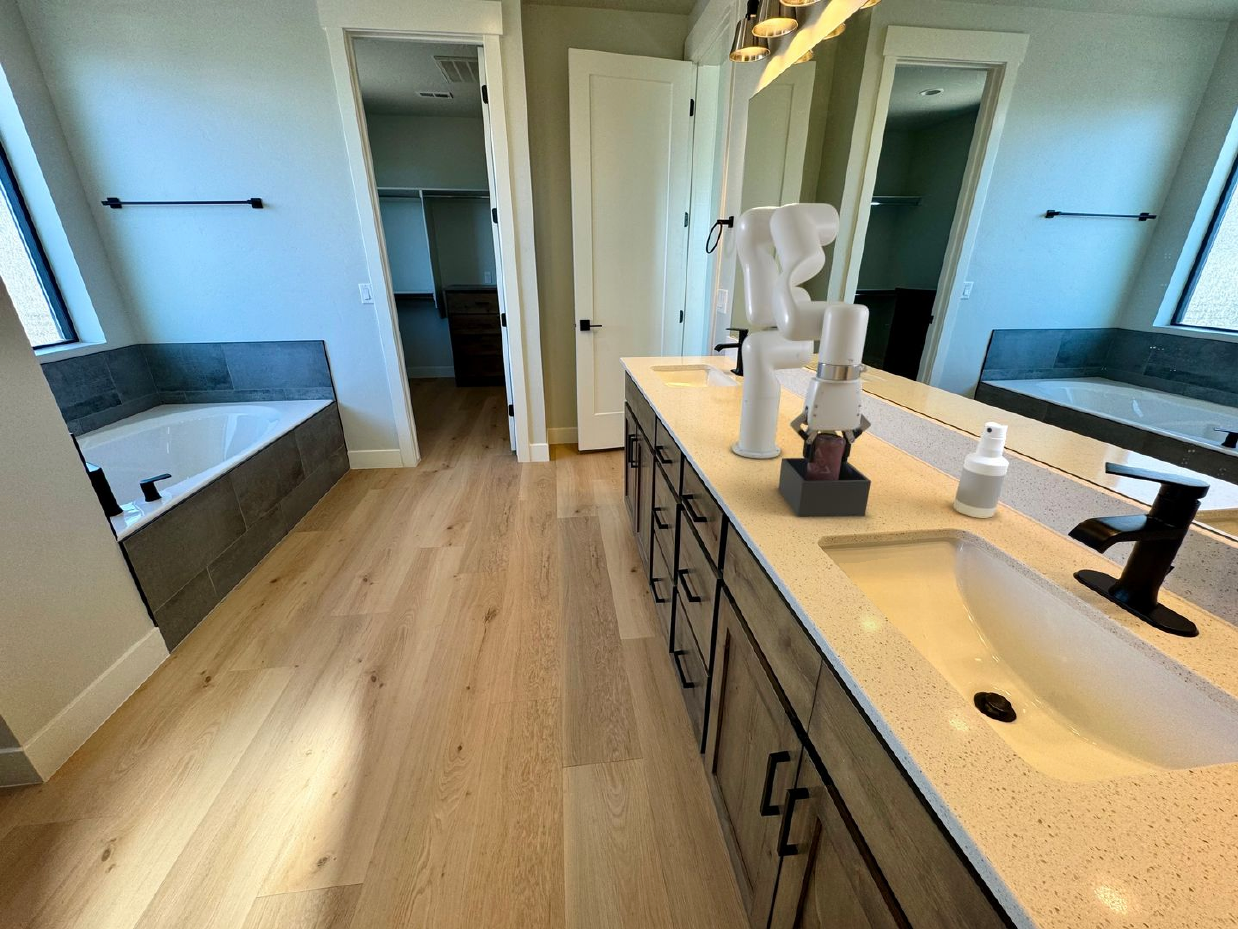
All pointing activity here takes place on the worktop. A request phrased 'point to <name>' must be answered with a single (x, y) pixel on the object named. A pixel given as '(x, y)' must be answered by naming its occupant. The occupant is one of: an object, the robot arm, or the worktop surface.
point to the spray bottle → (983, 474)
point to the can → (826, 457)
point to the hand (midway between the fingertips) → (825, 459)
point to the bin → (823, 490)
